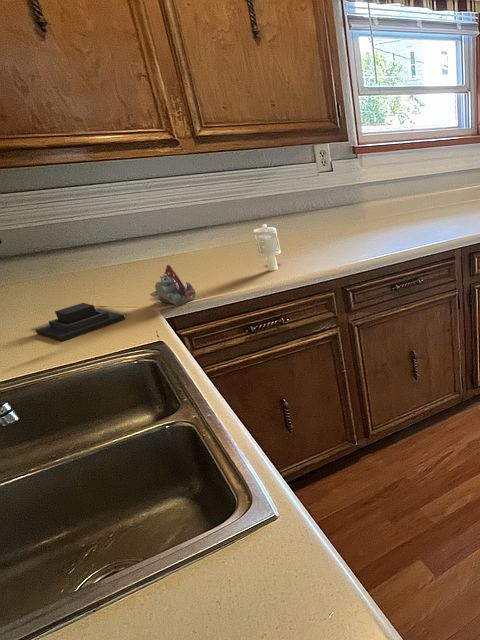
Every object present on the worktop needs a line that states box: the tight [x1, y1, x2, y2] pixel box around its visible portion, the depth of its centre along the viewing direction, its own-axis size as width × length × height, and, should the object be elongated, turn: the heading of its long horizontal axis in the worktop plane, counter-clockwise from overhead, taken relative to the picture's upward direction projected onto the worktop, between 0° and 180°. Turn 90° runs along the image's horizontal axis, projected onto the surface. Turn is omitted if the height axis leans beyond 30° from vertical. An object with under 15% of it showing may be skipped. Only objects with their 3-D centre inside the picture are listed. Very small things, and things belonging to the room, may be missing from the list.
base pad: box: [34, 308, 126, 342], centre depth 138 cm, size 16×12×3 cm
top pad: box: [54, 302, 97, 324], centre depth 137 cm, size 7×5×4 cm
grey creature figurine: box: [149, 264, 197, 306], centre depth 151 cm, size 11×11×12 cm
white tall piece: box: [253, 223, 282, 272], centre depth 177 cm, size 7×7×15 cm
